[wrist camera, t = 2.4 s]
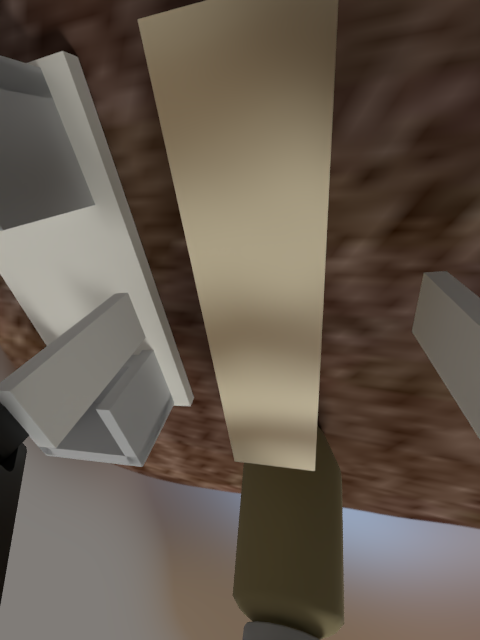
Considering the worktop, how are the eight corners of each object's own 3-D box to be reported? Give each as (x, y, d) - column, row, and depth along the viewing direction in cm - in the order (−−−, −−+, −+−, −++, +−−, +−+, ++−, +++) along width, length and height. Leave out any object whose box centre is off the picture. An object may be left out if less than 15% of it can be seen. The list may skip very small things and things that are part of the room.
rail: (221, 84, 13) (137, 19, 6) (319, 65, 12) (340, -37, 5) (254, 367, 22) (234, 461, 16) (310, 370, 21) (314, 471, 15)
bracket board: (-87, 109, 16) (-303, 89, 10) (77, 56, 13) (-97, -14, 7) (88, 393, 28) (33, 455, 23) (193, 397, 25) (162, 471, 20)
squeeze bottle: (236, 412, 25) (143, 785, 11) (321, 398, 22) (358, 897, 7) (269, 462, 29) (235, 799, 14) (348, 455, 26) (410, 880, 11)
